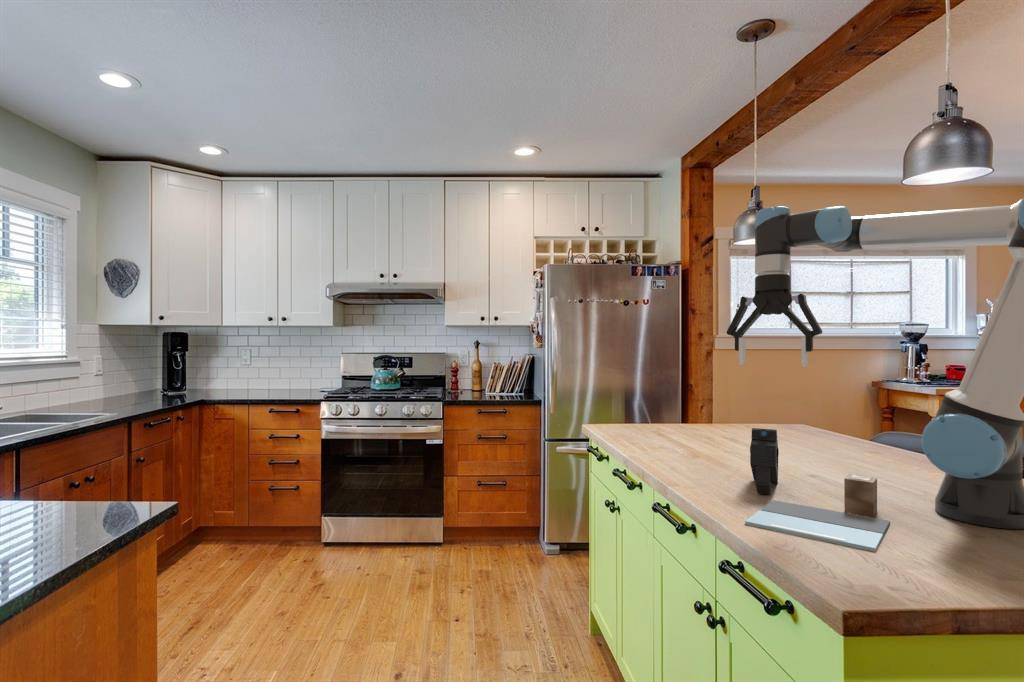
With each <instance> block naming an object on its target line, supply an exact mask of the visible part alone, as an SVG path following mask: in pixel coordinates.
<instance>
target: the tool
mask: <svg viewBox="0 0 1024 682" xmlns="http://www.w3.org/2000/svg"><path fill="white" fill-rule="evenodd" d="M777 431H778V430H777V429H774V428H773V429H770V428H756V427H752V428H751V438H750V439H751V441H750V446H749V453H750V457H749V458H750V459H749V463H750V464H749V465H750V468H751V473H752V477H753V481H754V482H755V488H756V489H755V490H756V494H765V495H771V484H779V453H780V452H779V441H778V432H777Z"/></svg>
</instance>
